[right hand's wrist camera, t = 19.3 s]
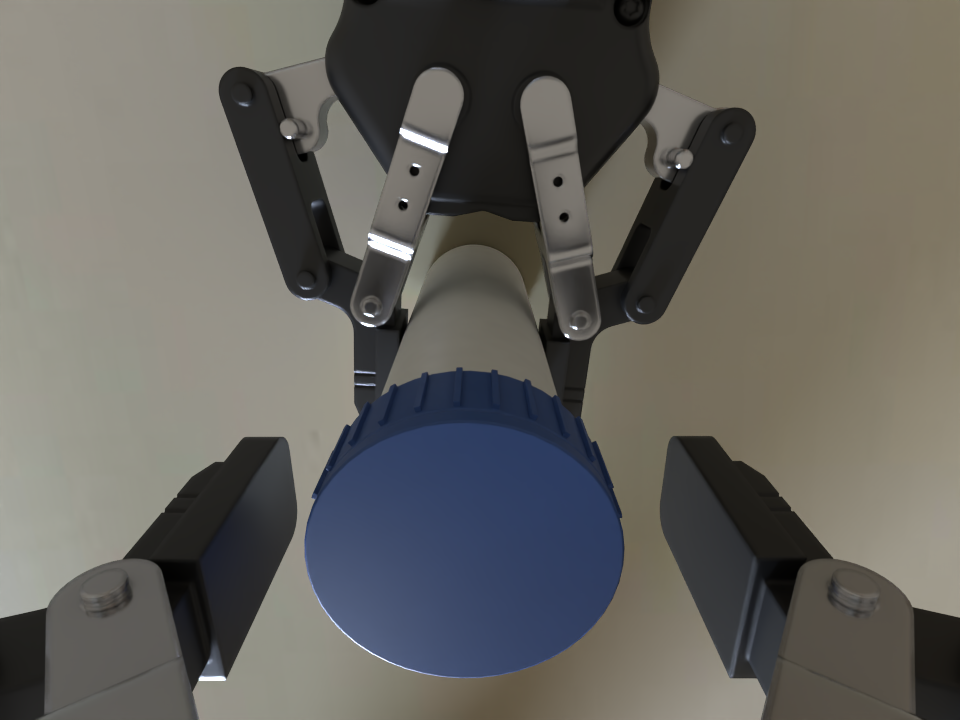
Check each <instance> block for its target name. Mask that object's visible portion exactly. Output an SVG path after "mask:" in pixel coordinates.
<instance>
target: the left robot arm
mask: <svg viewBox="0 0 960 720" xmlns="http://www.w3.org/2000/svg"><path fill="white" fill-rule="evenodd" d="M651 3H652V0H344V3H343V8H342V12H341V15H340V18H339V21H338V23H337V25H336V28H335V30H334V31H333V33H332V35H331V37H330V39H329V41H328V44H327V48H326V54H325V57H324V58H320V59H316V60H312V61H309V62H305V63H301V64H297V65H293V66H289V67H285V68H281V69H278V70H274V71H270V72H265V73H263V72H259V71H256V70H252V69H249V68H245V67H235V68H232V69H230V70H228V71H227V72H226V73H225V74H224V75H223V76H222V78H221V80H220V84H219V96H220V100H221V103H222V105H223V108H224V111H225V114H226V117H227V119H228V122H229V125H230V128H231V131H232V133H233V136H234V139H235V142H236V145H237V148H238V150H239V153H240V156H241V159H242V162H243V164H244V167H245V170H246V173H247V176H248V179H249V181H250V184H251V187H252V190H253V193H254V195H255V198H256V201H257V204H258V207H259V210H260V212H261V215H262V218H263V221H264V224H265V226H266V229H267V232H268V235H269V238H270V240H271V243H272V246H273V249H274V252H275V255H276V257H277V260H278V263H279V266H280V269H281V271H282V274H283V277H284V280H285V283H286V285H287V287H288V289H289V290H290V292H291V293H292V294H294V295H295V296H296V297H298V298H300V299H303V300H314V299H319V300H321V301H324V302H326V303H328V304H331V305H333V306H336V307H338V308H340V309H341V310H342V311H344V312H345V313H346V314H347V315H348V317H349V318H350V320H351V322H352V324H353V328H354V373H355V374H354V385H355V387H354V403H355V406H356V408H357V410H358V413H359V415H360V413H361V410H362V408H363V406H364V404H365V403H366V402H369V403H370V404H372V403H373V402H374V401H375V400H377V399H378V398H379V397H381V395H382V392H383V389H384V387H385V384H386V382H387V379H388V376H389V374H390V371H391V368H392V366H393V363H394V360H395V358H396V355H397V352H398V350H399V347H400V344H401V342H402V339H403V336H404V334H405V331H406V328H407V326H408V309H401V294H402V292H403V289H404V286H405V283H406V281H407V278H408V275H409V272H410V269H411V266H412V263H413V260H414V257H415V255H416V252H417V249H418V246H419V243H420V241H421V238H422V235H423V233H424V230H425V227H426V224H427V222H428V219H429V216H430V215H444V216H457V215H462V214H468V213H473V212H478V211H487V212H490V213H493V214H495V215H498V216H501V217H504V218H507V219H509V220H512V221H526V222H533V224H534V229H535V234H536V239H537V243H538V247H539V251H540V255H541V260H542V266H543V271H544V276H545V281H546V286H547V292H548V297H549V308H548V316H547V319H540V322H539V331H538V332H539V336H540V339H541V342H542V346H543V349H544V352H545V356H546V359H547V363H548V366H549V369H550V373H551V376H552V379H553V383H554V386H555V389H556V393H557V396H558V397H559V398H560V401H561V404H562V405H563V406H564V407H565V408H566V409H567V410H568V411H569V412H571V414H572V415H573V416H574V417H575V418H577V417H578V416H580V418H581V411H582V404H583V398H584V389H585V384H586V378H587V371H588V364H589V358H590V351H591V346H592V343H593V341H594V339H595V338H596V336H597V335H598V334H599V333H600V332H601V331H603V330H604V329H606V328H608V327H611V326H614V325H618V324H622V323H625V322H629V321H633V322H635V323H638V324H650V323H653V322H655V321H656V320H658V319H659V318H660V317H661V316H662V315H663V314H664V312H665V310H666V308H667V307H668V305H669V303H670V301H671V299H672V297H673V295H674V293H675V291H676V289H677V287H678V285H679V283H680V281H681V280H682V278H683V276H684V274H685V272H686V270H687V268H688V266H689V264H690V262H691V260H692V258H693V256H694V254H695V253H696V251H697V249H698V247H699V245H700V243H701V241H702V239H703V237H704V235H705V233H706V231H707V229H708V227H709V226H710V224H711V222H712V220H713V218H714V216H715V214H716V212H717V210H718V208H719V206H720V204H721V202H722V200H723V199H724V197H725V195H726V193H727V191H728V189H729V187H730V185H731V183H732V181H733V179H734V177H735V175H736V173H737V172H738V170H739V168H740V166H741V164H742V162H743V160H744V158H745V156H746V154H747V152H748V150H749V148H750V146H751V144H752V143H753V140H754V138H755V133H756V125H755V121H754V119H753V117H752V115H751V114H750V113H749V112H748V111H746V110H744V109H742V108H712V107H710V106H708V105H706V104H703V103H701V102H699V101H696V100H694V99H692V98H690V97H687V96H685V95H683V94H681V93H678V92H676V91H674V90H672V89H669V88H667V87H665V86H662V85H660V84H659V70H658V66H657V62H656V59H655V57H654V54H653V50H652V46H651V41H650V34H649V16H650V9H651ZM337 100H339V101H340V103H341V104H342V106H343V107H344V109H345V110H346V112H347V113H348V115H349V117H350V118H351V120H352V121H353V123H354V124H355V126H356V127H357V129H358V130H359V132H360V133H361V135H362V137H363V138H364V140H365V141H366V143H367V144H368V146H369V147H370V149H371V150H372V152H373V154H374V155H375V157H376V158H377V160H378V161H379V163H380V164H381V166H382V167H383V169H384V170H385V172H386V174H387V178H386V181H385V184H384V187H383V190H382V194H381V197H380V200H379V203H378V206H377V210H376V213H375V216H374V219H373V222H372V226H371V229H370V233H369V238H368V246H367V249H366V252H365V256H364V259H363V261H362V260H360V259H358V258H355V257H353V256H351V255H349V254H346V253H345V252H344V248H343V245H342V242H341V239H340V235H339V232H338V229H337V226H336V223H335V219H334V216H333V213H332V210H331V206H330V203H329V200H328V197H327V194H326V190H325V187H324V184H323V181H322V178H321V174H320V171H319V168H318V165H317V161H316V158H315V155H314V152H315V151H317V150H319V149H320V148H322V147H323V146H324V144H325V143H326V140H327V138H328V126H327V114H328V111H329V109H330V107H331V105H332V104H333V103H334V102H335V101H337ZM639 124H641V125H642V126H643V127H644V129H645V131H646V133H647V137H648V145H647V149H646V152H645V157H644V162H645V166H646V169H647V171H648V172H649V173H650V174H651V175H652V176H653V177H655V179H654V181H653V183H652V186H651V188H650V190H649V192H648V194H647V196H646V198H645V200H644V203H643V205H642V207H641V209H640V211H639V213H638V215H637V217H636V220H635V222H634V224H633V226H632V228H631V230H630V232H629V234H628V237H627V239H626V241H625V243H624V245H623V247H622V249H621V251H620V254H619V256H618V258H617V260H616V262H615V264H614V266H613V268H612V271H611V272H609V273H605V274H601V275H598V276H595V275H594V269H593V262H592V257H593V245H592V238H591V232H590V226H589V219H588V213H587V207H586V200H585V194H584V187H585V186H586V185H587V184H588V183H589V181H590V180H591V179H592V178H593V177H594V176H595V175H596V173H597V172H598V171H599V170H600V169H601V168H602V167H603V165H604V164H605V163H606V162H607V161H608V160H609V159H610V157H611V156H612V155H613V154H614V153H615V152H616V150H617V149H618V148H619V147H620V146H621V145H622V144H623V142H624V141H625V140H626V139H627V138H628V137H629V136H630V134H631V133H632V132H633V131H634V130H635V129H636V128H637V126H638V125H639Z"/></svg>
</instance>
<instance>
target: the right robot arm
mask: <svg viewBox="0 0 960 720" xmlns="http://www.w3.org/2000/svg"><path fill="white" fill-rule="evenodd" d="M660 519H661V525H662V530H663V533H664V536H665V538H666V540H667V542H668V545H669V547H670V549H671V551H672V553H673V555H674V558H675V560H676V562H677V564H678V566H679V569H680V571H681V573H682V575H683V577H684V579H685V582H686V584H687V586H688V588H689V590H690V592H691V595H692V597H693V599H694V601H695V603H696V605H697V608H698V610H699V612H700V614H701V616H702V618H703V621H704V623H705V625H706V627H707V629H708V632H709V634H710V636H711V638H712V640H713V642H714V645H715V647H716V649H717V651H718V653H719V655H720V658H721V660H722V662H723V664H724V666H725V668H726V671H727V673H728V675H729V677H730V678H757V679H758V681H759V683H760V685H761V687H762V689H763V691H764V693H765V695H766V701H765V705H764V709H763V713H762V717H761V720H960V618H959V617H954V616H950V615H945V614H941V613H936V612H932V611H927V610H922V609H918V608H914V607H912V605H911V603H910V601H909V600H908V598H907V597H906V596H905V594H904V593H903V592H902V591H901V590H900V589H899V588H898V587H896V586H895V585H894V584H893V583H892V582H890V581H889V580H887V579H886V578H884V577H883V576H881V575H879V574H878V573H876V572H874V571H872V570H870V569H868V568H865V567H863V566H860V565H857V564H854V563H851V562H847V561H843V560H838V559H833V558H832V556H831V555H830V554H829V553H828V552H827V550H826V549H825V548H824V547H823V546H822V544H821V543H820V542H819V541H818V540H817V538H816V537H815V536H814V535H813V534H812V532H811V531H810V530H809V529H808V528H807V526H806V525H805V524H804V523H803V522H802V520H801V519H800V518H799V517H798V516H797V514H796V513H795V512H794V511H791V507H790V506H789V505H788V504H787V502H786V501H785V500H784V499H783V498H782V497H779V493H778V492H777V490H776V489H775V488H774V487H773V486H772V484H771V483H770V482H769V481H768V480H767V478H766V477H765V476H764V475H762V474H761V473H759V472H758V471H756V470H754V469H753V468H751V467H750V466H748V465H747V464H745V463H743V462H742V461H732V460H731V459H730V457H729V456H728V455H727V454H726V452H725V451H724V450H723V448H722V447H721V446H720V445H719V443H718V442H717V441H716V439H715V438H714V437H712V436H673V437H672V438H671V439H670V441H669V444H668V449H667V456H666V464H665V471H664V479H663V486H662V493H661V501H660ZM296 520H297V501H296V494H295V487H294V479H293V472H292V465H291V458H290V450H289V445H288V442H287V440H286V439H285V438H284V437H244V438H243V439H242V440H241V441H240V442H239V444H238V445H237V446H236V447H235V449H234V450H233V451H232V453H231V454H230V455H229V456H228V458H227V459H226V460H225V462H215V463H213V464H211V465H210V466H208V467H207V468H205V469H204V470H202V471H200V472H199V473H197V474H196V475H194V476H193V477H191V479H190V480H189V481H188V482H187V483H186V485H185V486H184V487H183V488H182V489H181V491H180V492H179V493H178V494H177V498H174V499H173V500H172V501H171V502H170V504H169V505H168V506H167V507H166V508H165V513H161V514H160V515H159V517H158V518H157V519H156V520H155V521H154V523H153V524H152V525H151V526H150V527H149V528H148V530H147V531H146V532H145V533H144V534H143V536H142V537H141V538H140V539H139V540H138V542H137V543H136V544H135V545H134V546H133V547H132V549H131V550H130V551H129V552H128V553H127V555H126V556H125V557H124V558H123V559H122V560H117V561H113V562H109V563H106V564H103V565H100V566H97V567H95V568H92V569H90V570H88V571H86V572H84V573H82V574H81V575H79V576H77V577H76V578H74V579H73V580H71V581H70V582H68V583H67V584H66V585H65V586H64V587H62V588H61V589H60V590H59V591H58V592H57V593H56V594H55V596H54V597H53V598H52V600H51V601H50V603H49V605H48V608H44V609H41V610H36V611H32V612H27V613H23V614H18V615H14V616H9V617H5V618H0V720H199V717H198V713H197V709H196V705H195V701H194V697H193V693H192V691H193V690H194V688H195V686H196V684H197V682H198V680H226V679H227V676H228V674H229V672H230V670H231V668H232V666H233V664H234V661H235V659H236V657H237V655H238V653H239V651H240V649H241V646H242V644H243V642H244V640H245V638H246V636H247V634H248V631H249V629H250V627H251V625H252V623H253V621H254V619H255V616H256V614H257V612H258V610H259V608H260V606H261V603H262V601H263V599H264V597H265V595H266V593H267V591H268V588H269V586H270V584H271V582H272V580H273V578H274V576H275V573H276V571H277V569H278V567H279V565H280V563H281V561H282V558H283V556H284V554H285V552H286V550H287V548H288V546H289V543H290V541H291V539H292V537H293V534H294V531H295V527H296Z"/></svg>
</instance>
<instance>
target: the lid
mask: <svg viewBox="0 0 960 720" xmlns="http://www.w3.org/2000/svg"><path fill="white" fill-rule="evenodd" d="M612 488H614V487H613V484H612V481H611V479H610V476H609V473H608V471H607V468H606V465H605V463H604V460H603V458H602V455H601V452H600V450H599V447H598V445H597V442H596V441H594V442H591V440H590V438H589V437H588V434H587V432H586V429H585V426H584V423H583V420H582V419H581V418H580V416H578V417H577V418H575V417H574V416H573V415H572V414H571V412H569V411H568V410H567V409H566V408H565V407H564V406H563V405H562V404H561V401H560V398H559V397H558V396H557V395H554V396H553V397H551V396H550V395H548V394H547V393H545V392H544V391H542V390H540V389H538V388H536V387H534V386H532V385H531V381H530V380H528V379H525V380H524V382H523V381H520V380H517V379H514V378H511V377H509V376H504V375H499V374H498V370H493V369H492V370H491V373H490V372H480V371H463V368H462V367H457V368H456V371H450V372H443V373H436V374H431V375H429V374H428V372H425V373H422V375H421V377H420V378H417V379H414V380H411V381H409V382H407V383H404V384H402V385H400V386H397V385H396V384H393V385H391V386H390V388H389V391H388V392H387V393H385V394H384V395H382V396H381V397H379V398H378V399H377V400H375V401H374V402H373V403H372V404H370V403H369V402H366V403H365V404H364V406H363V408H362V410H361V413H360V415H359V416H358V417H357V418H356V420H355V421H354V422H353V424H352V425H351V426H349V425H346V426H345V427H344V429H343V431H342V433H341V436H340V438H339V440H338V442H337V444H336V446H335V449H334V450H333V451H332V453H331V456H330V458H329V460H328V462H327V464H326V466H325V469H324V471H323V473H322V475H321V477H320V479H319V481H318V484H317V486H316V488H315V490H314V492H313V495H312V498H313V499H316V500H315V502H314V504H313V506H312V509H311V512H310V516H309V519H308V522H307V527H306V534H305V560H306V566H307V572H308V576H309V579H310V582H311V585H312V588H313V590H314V592H315V594H316V596H317V598H318V600H319V602H320V604H321V606H322V607H323V609H324V610H325V611H326V613H327V614H328V616H329V617H330V618H331V620H332V621H333V622H334V623H335V624H336V625H337V626H338V627H339V628H340V629H341V630H342V632H343V633H345V634H346V635H347V636H348V637H349V638H351V639H352V640H353V641H354V642H355V643H357V644H358V645H359V646H361V647H363V648H364V649H366V650H367V651H369V652H370V653H372V654H374V655H376V656H378V657H379V658H381V659H383V660H385V661H387V662H390V663H392V664H395V665H397V666H400V667H403V668H405V669H409V670H412V671H416V672H420V673H424V674H429V675H435V676H441V677H453V678H481V677H489V676H497V675H503V674H507V673H512V672H516V671H519V670H522V669H526V668H529V667H532V666H535V665H537V664H539V663H541V662H544V661H546V660H548V659H550V658H552V657H554V656H556V655H557V654H559V653H561V652H562V651H564V650H566V649H567V648H569V647H570V646H571V645H573V644H574V643H575V642H577V641H578V640H579V639H581V638H582V637H583V636H584V635H585V634H586V633H587V632H588V631H589V630H590V629H591V628H592V627H593V626H594V625H595V624H596V622H597V621H598V620H599V619H600V617H601V616H602V615H603V613H604V612H605V610H606V609H607V607H608V605H609V604H610V602H611V600H612V599H613V596H614V594H615V591H616V589H617V586H618V584H619V581H620V576H621V572H622V568H623V561H624V538H623V530H622V526H621V522H620V518H622V513H621V510H620V507H619V505H618V502H617V499H616V497H615V494H614V491H613V489H612Z"/></svg>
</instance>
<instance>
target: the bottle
mask: <svg viewBox="0 0 960 720" xmlns="http://www.w3.org/2000/svg"><path fill="white" fill-rule="evenodd" d="M457 367H462V368H463V371H480V372H490V373H491V370H492V369H493V370H498V374H499V375H504V376H509V377H511V378H514V379H517V380H520V381H523V382H524V380H525V379H528V380H530V381H531V385H532V386H534V387H536V388H538V389H540V390H542V391H544V392H545V393H547V394H548V395H550V396H551V397H553V396H554V395H557V393H556V389H555V386H554V383H553V379H552V376H551V373H550V369H549V366H548V363H547V359H546V356H545V352H544V349H543V346H542V342H541V339H540V336H539V332H538V329H537V325H536V322H535V319H534V315H533V312H532V309H531V305H530V302H529V298H528V295H527V292H526V288H525V285H524V282H523V278H522V276H521V274H520V272H519V270H518V268H517V267H516V265H515V264H514V263H513V262H512V261H511V260H510V259H509V258H508V257H507V256H506V255H504V254H503V253H502V252H500V251H498V250H496V249H494V248H491V247H488V246H484V245H464V246H460V247H456V248H454V249H451V250H449V251H448V252H446V253H444V254H443V255H442V256H440V257H439V258H438V259H437V260H436V261H435V262H434V263H433V265H432V266H431V268H430V269H429V271H428V273H427V275H426V278H425V280H424V283H423V286H422V288H421V291H420V294H419V296H418V299H417V302H416V304H415V307H414V310H413V312H412V315H411V318H410V320H409V323H408V326H407V328H406V331H405V334H404V336H403V339H402V342H401V344H400V347H399V350H398V352H397V355H396V358H395V360H394V363H393V366H392V368H391V371H390V374H389V376H388V379H387V382H386V384H385V387H384V389H383V392H382V395H384V394H385V393H387V392H388V391H389V388H390V386H391V385H393V384H396V385H397V386H400V385H402V384H404V383H407V382H409V381H411V380H414V379H417V378H420V377H421V375H422V373H425V372H428V374H429V375H431V374H436V373H443V372H450V371H456V368H457ZM382 395H381V396H382Z"/></svg>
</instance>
